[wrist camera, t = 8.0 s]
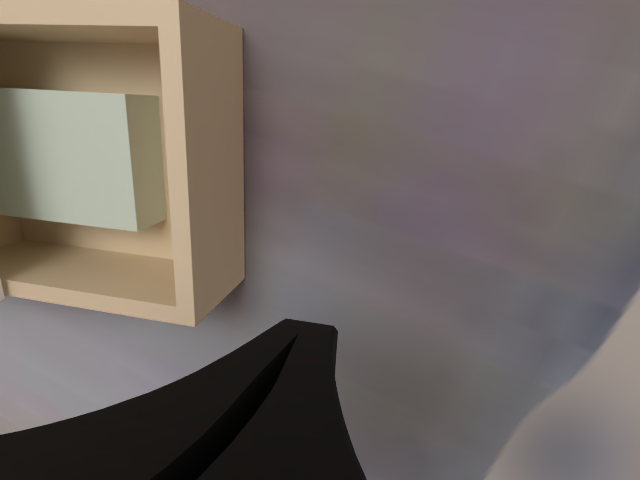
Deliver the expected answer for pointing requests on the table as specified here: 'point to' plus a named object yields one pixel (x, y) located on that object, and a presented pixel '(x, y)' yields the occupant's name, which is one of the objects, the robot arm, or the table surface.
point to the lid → (1, 292)
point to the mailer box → (121, 156)
